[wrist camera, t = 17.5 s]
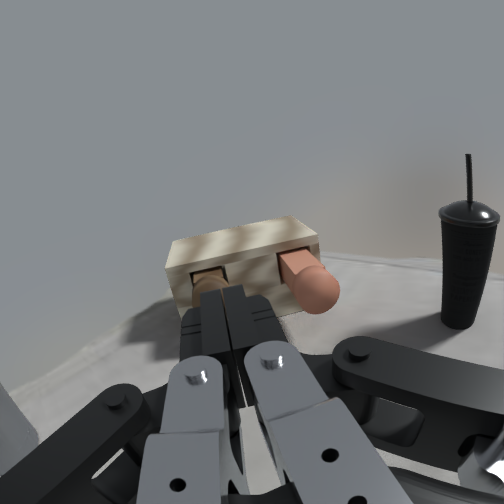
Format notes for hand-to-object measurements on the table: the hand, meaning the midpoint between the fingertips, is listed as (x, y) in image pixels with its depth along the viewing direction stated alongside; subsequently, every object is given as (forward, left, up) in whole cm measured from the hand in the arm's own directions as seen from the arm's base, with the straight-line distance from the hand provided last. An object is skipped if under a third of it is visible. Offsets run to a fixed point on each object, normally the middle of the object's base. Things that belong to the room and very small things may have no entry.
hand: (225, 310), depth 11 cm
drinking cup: (+27, +12, -17) cm, 34 cm away
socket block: (+3, +31, -17) cm, 36 cm away
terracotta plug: (+9, +25, -12) cm, 29 cm away
